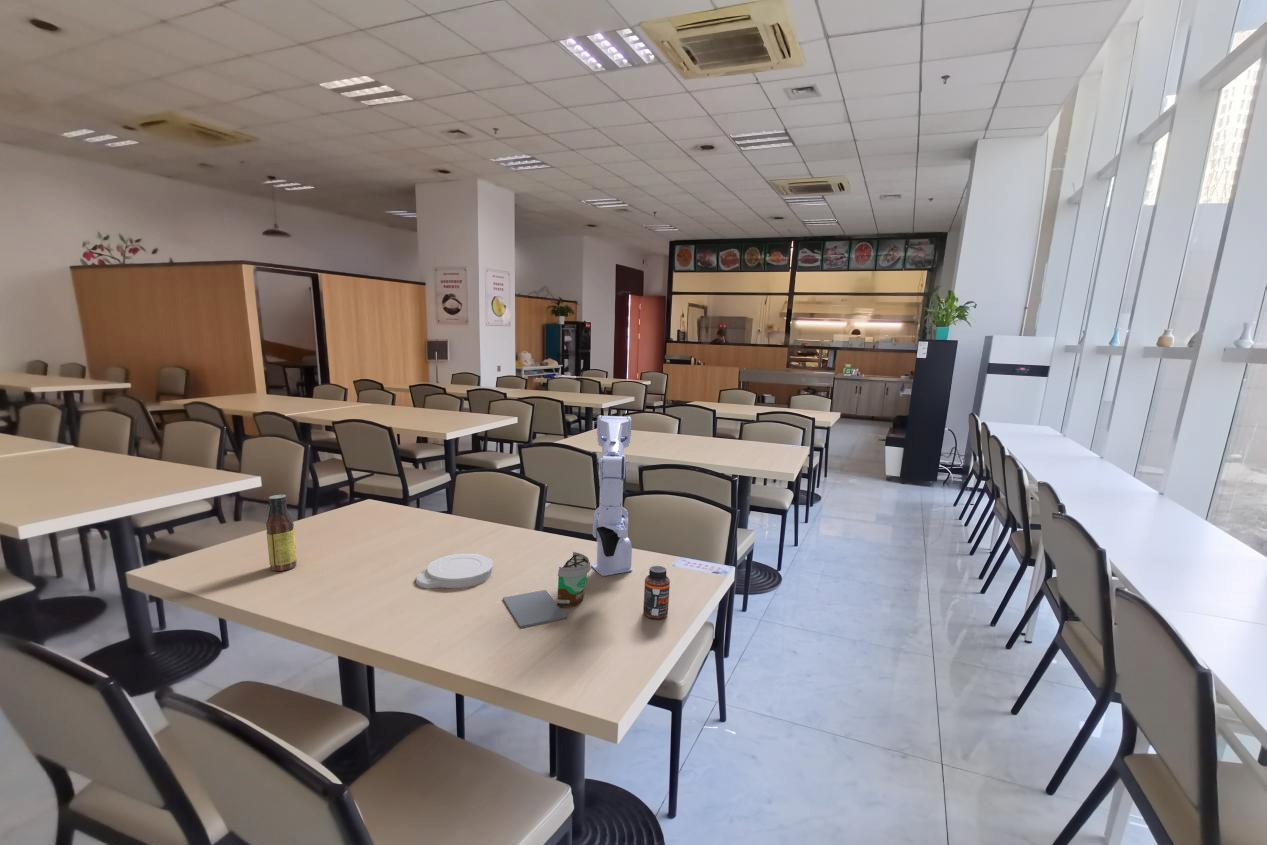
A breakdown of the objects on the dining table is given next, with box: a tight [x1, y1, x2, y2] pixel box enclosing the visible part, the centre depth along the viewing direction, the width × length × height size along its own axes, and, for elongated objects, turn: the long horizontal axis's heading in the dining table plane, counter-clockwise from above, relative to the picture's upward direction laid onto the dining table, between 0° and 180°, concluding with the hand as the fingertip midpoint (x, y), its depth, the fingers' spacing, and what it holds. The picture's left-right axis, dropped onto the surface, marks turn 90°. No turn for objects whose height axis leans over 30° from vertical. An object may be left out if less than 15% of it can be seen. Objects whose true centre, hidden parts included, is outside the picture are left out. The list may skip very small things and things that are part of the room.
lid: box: [415, 552, 494, 590], centre depth 147 cm, size 17×20×3 cm
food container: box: [556, 551, 592, 607], centre depth 135 cm, size 12×6×10 cm, turn 169°
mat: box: [502, 589, 568, 629], centre depth 131 cm, size 11×15×1 cm
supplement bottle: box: [642, 565, 671, 620], centre depth 130 cm, size 6×6×11 cm
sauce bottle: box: [265, 494, 298, 572], centre depth 147 cm, size 6×6×20 cm
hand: (609, 555), depth 138 cm, fingers closed
